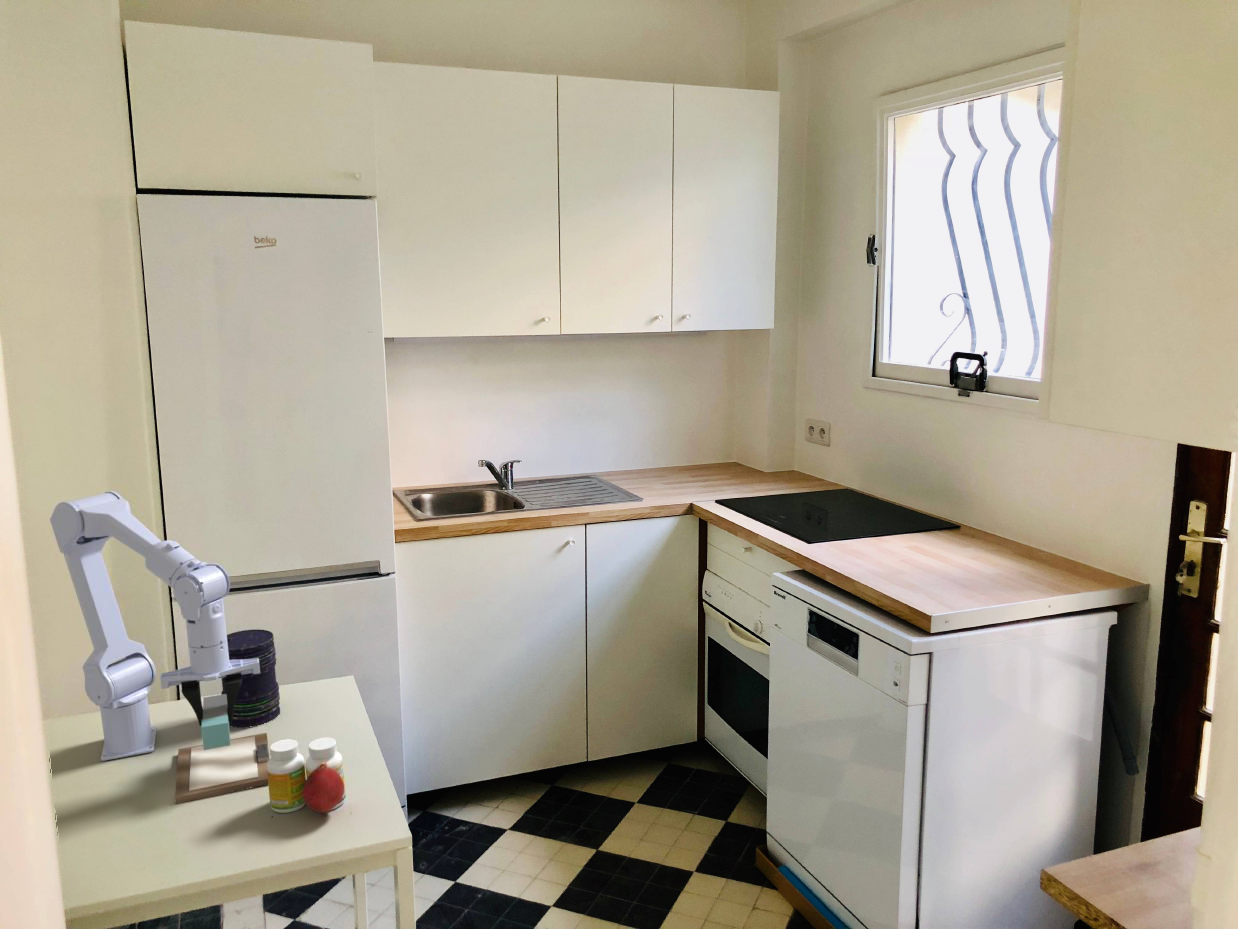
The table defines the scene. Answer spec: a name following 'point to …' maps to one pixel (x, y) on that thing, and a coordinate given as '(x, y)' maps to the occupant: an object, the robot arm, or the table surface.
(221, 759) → the clipboard
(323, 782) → the onion
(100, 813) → the table surface
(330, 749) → the supplement bottle
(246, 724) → the dark blue cylinder
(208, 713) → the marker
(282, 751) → the supplement bottle
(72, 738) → the table surface
